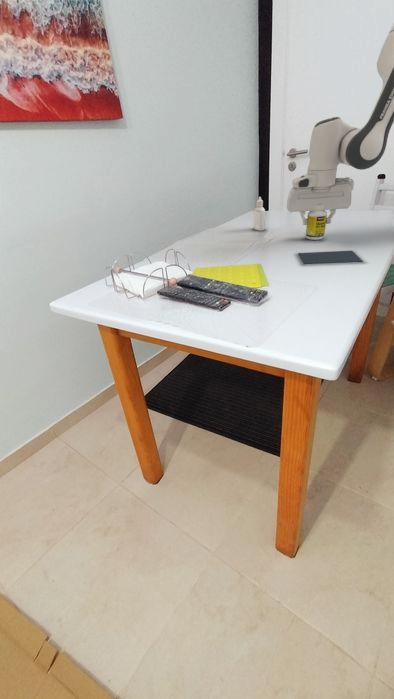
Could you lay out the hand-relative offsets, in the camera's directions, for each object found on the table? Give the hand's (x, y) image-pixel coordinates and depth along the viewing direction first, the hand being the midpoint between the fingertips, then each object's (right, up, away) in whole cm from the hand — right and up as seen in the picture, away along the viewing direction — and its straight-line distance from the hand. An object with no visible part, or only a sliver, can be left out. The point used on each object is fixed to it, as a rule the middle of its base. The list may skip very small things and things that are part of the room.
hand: (316, 224), depth 115 cm
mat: (-2, -16, -15) cm, 22 cm away
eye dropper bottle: (-16, +5, +19) cm, 26 cm away
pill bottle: (0, -4, +3) cm, 5 cm away
